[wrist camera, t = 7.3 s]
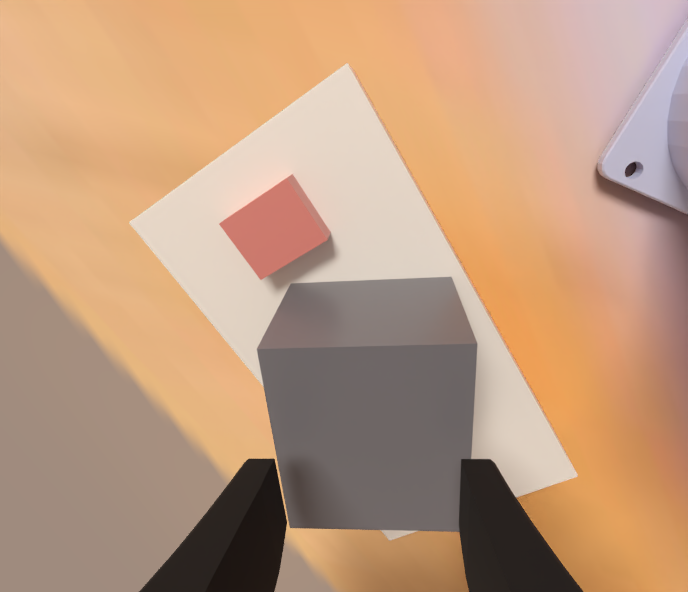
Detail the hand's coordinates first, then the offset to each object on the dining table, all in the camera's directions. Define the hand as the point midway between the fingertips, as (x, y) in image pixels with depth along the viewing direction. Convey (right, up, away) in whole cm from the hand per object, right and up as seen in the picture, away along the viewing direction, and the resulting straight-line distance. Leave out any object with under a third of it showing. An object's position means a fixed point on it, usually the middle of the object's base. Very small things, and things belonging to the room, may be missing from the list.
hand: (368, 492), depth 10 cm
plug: (+1, +3, +7) cm, 7 cm away
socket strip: (+2, +2, +8) cm, 8 cm away
